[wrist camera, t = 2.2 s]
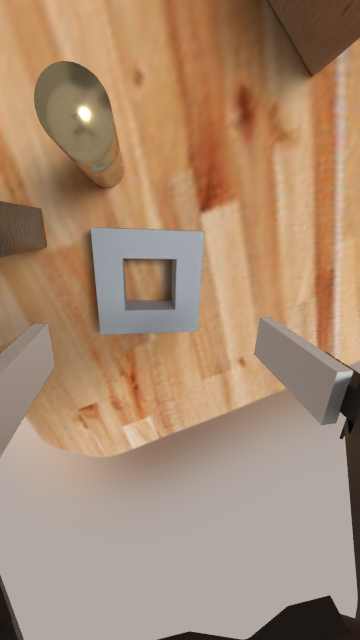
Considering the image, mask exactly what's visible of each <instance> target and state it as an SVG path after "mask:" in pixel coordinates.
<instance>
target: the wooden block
mask: <svg viewBox="0 0 360 640" xmlns="http://www.w3.org/2000/svg"><path fill="white" fill-rule="evenodd" d="M268 1H269V3H270V4H271V6H272V8H273V9H274V11H275V13H276V15H277V16H278V18H279V20H280V22H281V23H282V25H283V27H284V28H285V30H286V32H287V34H288V35H289V37H290V39H291V40H292V42H293V44H294V46H295V47H296V49H297V51H298V53H299V54H300V56H301V58H302V59H303V61H304V63H305V65H306V66H307V68H308V70H309V71H310V73H311V74H312V75H315V74H317V73H318V72H320V71H321V70H322V69H323V68H324V67H326V66H327V65H328V64H329V63H330V62H331V61H333V60H334V59H335V58H336V57H337V56H339V55H340V54H341V53H342V52H343V51H345V50H346V49H347V48H348V47H349V46H350V45H352V44H353V43H354V42H355V41H356V40H358V39H359V38H360V0H268Z"/></svg>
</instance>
